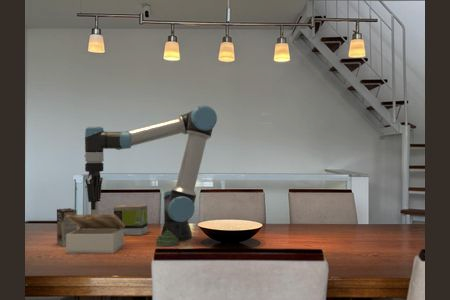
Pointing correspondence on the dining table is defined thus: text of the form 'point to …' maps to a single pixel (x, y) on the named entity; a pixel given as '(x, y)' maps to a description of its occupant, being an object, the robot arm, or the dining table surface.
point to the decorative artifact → (167, 240)
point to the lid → (96, 221)
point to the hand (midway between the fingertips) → (94, 216)
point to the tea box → (133, 218)
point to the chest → (94, 241)
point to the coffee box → (64, 225)
